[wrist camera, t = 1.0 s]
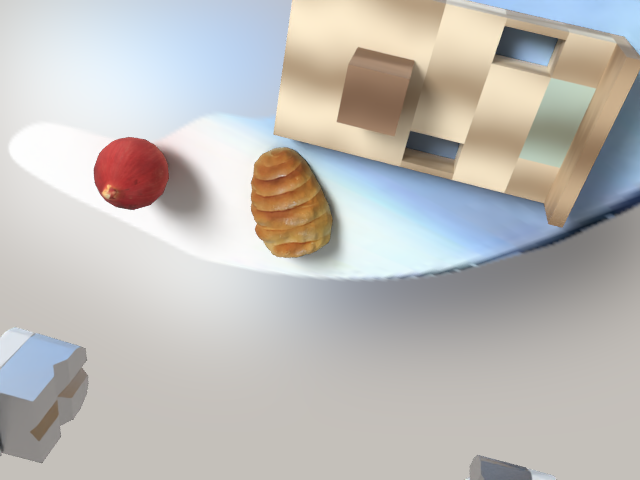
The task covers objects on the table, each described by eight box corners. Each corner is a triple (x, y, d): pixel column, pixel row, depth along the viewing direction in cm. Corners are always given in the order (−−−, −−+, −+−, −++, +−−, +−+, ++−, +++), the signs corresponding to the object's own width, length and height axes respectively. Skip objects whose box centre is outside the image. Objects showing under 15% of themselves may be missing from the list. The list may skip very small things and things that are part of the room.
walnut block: (357, 46, 41) (348, 64, 38) (414, 60, 41) (409, 79, 38) (346, 101, 44) (336, 122, 40) (400, 114, 43) (394, 136, 40)
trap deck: (305, -38, 42) (285, -23, 37) (624, 36, 40) (644, 61, 35) (281, 122, 48) (262, 150, 44) (553, 190, 47) (562, 227, 42)
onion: (184, 189, 54) (144, 237, 47) (123, 177, 55) (76, 223, 48) (182, 129, 51) (139, 171, 44) (117, 117, 51) (66, 157, 45)
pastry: (240, 149, 51) (225, 169, 48) (316, 138, 49) (306, 158, 46) (269, 242, 55) (258, 266, 52) (340, 236, 54) (333, 260, 50)
